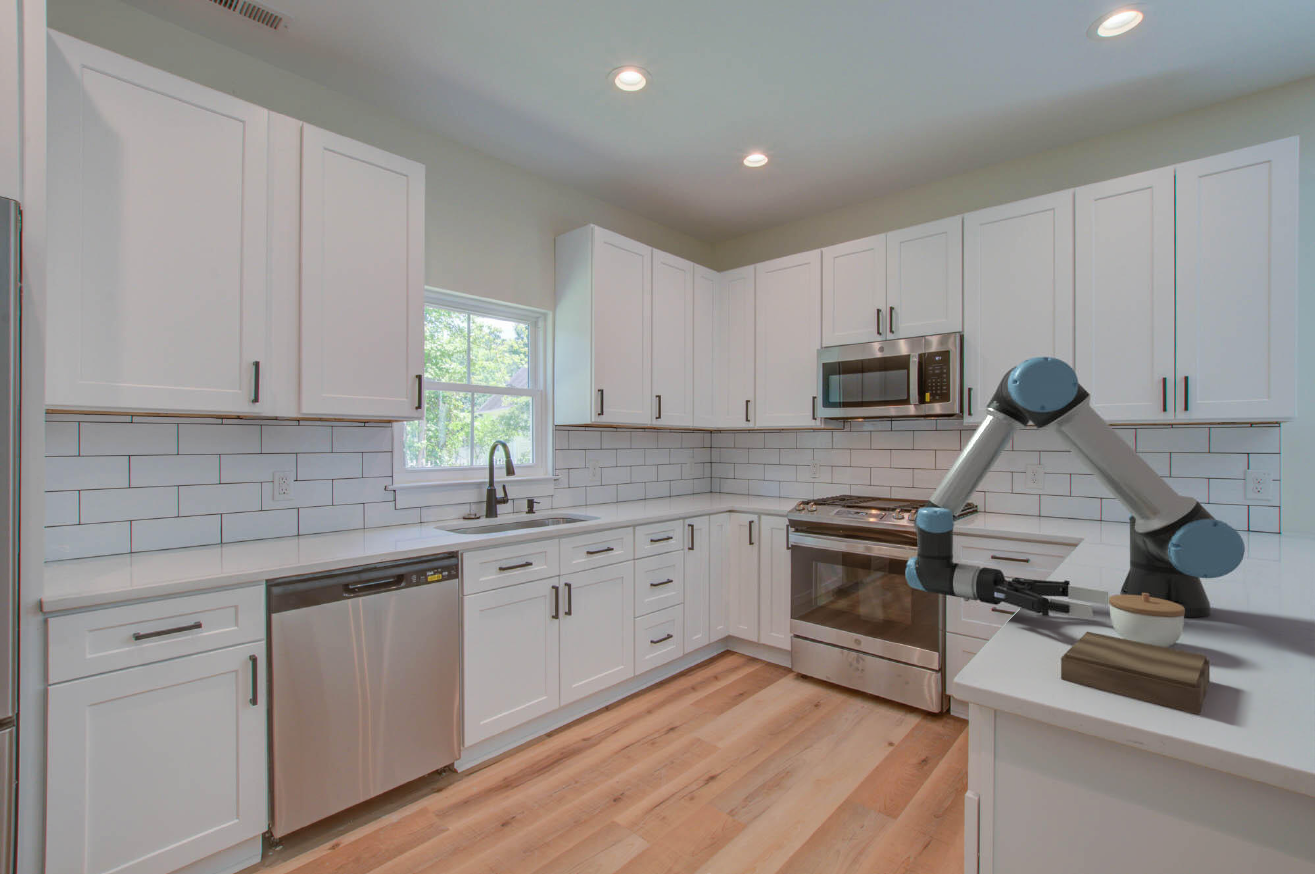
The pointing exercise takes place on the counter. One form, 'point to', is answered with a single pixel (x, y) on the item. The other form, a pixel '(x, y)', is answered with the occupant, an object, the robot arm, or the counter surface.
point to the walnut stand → (1138, 671)
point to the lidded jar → (1147, 619)
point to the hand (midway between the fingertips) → (1100, 604)
